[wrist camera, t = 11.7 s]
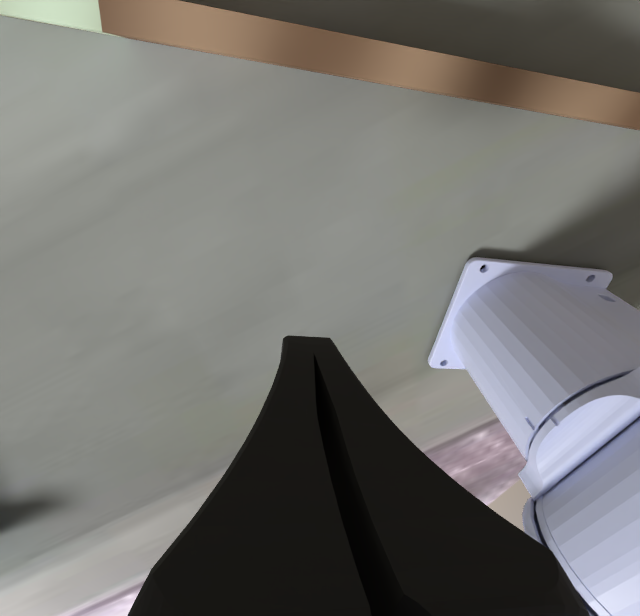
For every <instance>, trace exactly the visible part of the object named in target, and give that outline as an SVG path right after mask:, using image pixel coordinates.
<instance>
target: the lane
mask: <svg viewBox="0 0 640 616" xmlns="http://www.w3.org/2000/svg"><path fill="white" fill-rule="evenodd" d="M0 15H1V16H7V17H12V18H18V19H24V20H29V21H35V22H40V23H46V24H51V25H57V26H62V27H68V28H74V29H79V30H85V31H90V32H96V33H101V34H107V35H112V36H118V37H124V38H129V39H135V40H140V41H146V42H151V43H157V44H163V45H168V46H174V47H179V48H185V49H190V50H196V51H201V52H207V53H213V54H218V55H224V56H229V57H235V58H240V59H246V60H251V61H257V62H263V63H268V64H274V65H279V66H285V67H290V68H296V69H301V70H307V71H313V72H318V73H324V74H329V75H335V76H340V77H346V78H352V79H357V80H363V81H368V82H374V83H379V84H385V85H390V86H396V87H402V88H407V89H413V90H418V91H424V92H429V93H435V94H440V95H446V96H452V97H457V98H463V99H468V100H474V101H479V102H485V103H490V104H496V105H502V106H507V107H513V108H518V109H524V110H529V111H535V112H541V113H546V114H552V115H557V116H563V117H568V118H574V119H579V120H585V121H591V122H596V123H602V124H607V125H613V126H618V127H624V128H629V129H635V130H640V93H637V92H632V91H627V90H622V89H617V88H612V87H607V86H602V85H597V84H592V83H587V82H583V81H578V80H573V79H568V78H563V77H558V76H553V75H548V74H543V73H538V72H533V71H528V70H523V69H518V68H513V67H508V66H503V65H498V64H493V63H488V62H483V61H478V60H473V59H468V58H463V57H458V56H453V55H448V54H443V53H438V52H433V51H428V50H423V49H418V48H413V47H408V46H403V45H398V44H393V43H388V42H383V41H378V40H373V39H368V38H363V37H358V36H353V35H348V34H343V33H338V32H334V31H329V30H324V29H319V28H314V27H309V26H304V25H299V24H294V23H289V22H284V21H279V20H274V19H269V18H264V17H259V16H254V15H249V14H244V13H239V12H234V11H229V10H224V9H219V8H214V7H209V6H204V5H199V4H194V3H189V2H184V1H179V0H0Z"/></svg>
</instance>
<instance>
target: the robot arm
mask: <svg viewBox="0 0 640 616" xmlns="http://www.w3.org/2000/svg"><path fill="white" fill-rule="evenodd" d="M485 264H486V265H485ZM483 265H485V267H484V268H483V269H481V270H480V268H481V266H483ZM588 276H589V277H588ZM612 278H613V275H612V273H610V272H609V271H607V270H601V269H591V268H581V267H571V266H561V265H550V264H540V263H530V262H520V261H510V260H500V259H490V258H480V257H473V258H471V259H469V260H468V261H467V263H466V264H465V267H464V269H463V272H462V274H461V277H460V280H459V282H458V285H457V287H456V290H455V292H454V295H453V297H452V300H451V302H450V305H449V307H448V310H447V312H446V315H445V318H444V320H443V323H442V325H441V328H440V330H439V333H438V335H437V338H436V340H435V343H434V345H433V348H432V350H431V353H430V356H429V358H428V363H429V365H430V366H431V367H432V368H448V369H467V371H468V373H469V374H470V376H471V377H472V379H473V380H474V382H475V383H476V385H477V386H478V388H479V389H480V391H481V392H482V394H483V396H484V397H485V399H486V400H487V402H488V403H489V405H490V406H491V408H492V409H493V411H494V412H495V414H496V415H497V417H498V418H499V420H500V422H501V423H502V425H503V426H504V428H505V429H506V431H507V432H508V434H509V435H510V437H511V438H512V440H513V441H514V443H515V444H516V446H517V448H518V449H519V451H520V452H521V454H522V455H523V457H524V458H525V460H526V461H527V464H526V465H525V467H524V468H523V469H522V470H521V471H520V472H519V474H518V475H519V477H520V478H521V480H522V482H523V483H524V485H525V487H526V488H527V490H528V492H529V493H530V495H531V496H532V497H530V498H529V499H528V500H527V502H526V503H525V505H524V508H523V513H522V516H523V526H524V530H525V532H523V531H522V530H520V529H519V528H517V527H516V526H514V525H513V524H511V523H510V522H508V521H507V520H506V519H504V518H503V517H501V516H500V515H498V514H497V513H496V512H494V511H493V510H492V509H490V508H489V507H488V506H486V505H485V504H484V503H483V502H481V501H480V500H479V499H477V498H476V497H475V496H473V495H472V494H471V493H469V492H468V491H467V490H466V489H464V488H463V487H462V486H461V485H459V484H458V483H457V482H456V481H455V480H453V479H452V478H451V477H450V476H449V475H448V474H446V473H445V472H444V471H443V470H442V469H441V468H440V467H438V466H437V465H436V464H435V463H434V462H433V461H431V460H430V459H429V458H428V457H427V456H426V455H425V454H424V453H423V452H422V451H421V450H419V449H418V448H417V447H416V446H415V445H414V444H413V443H412V442H411V441H410V440H409V439H408V438H407V437H406V436H405V435H404V434H403V433H402V432H401V431H400V430H399V428H398V427H397V426H396V425H395V424H394V423H393V422H392V421H391V420H390V418H389V417H388V416H387V415H386V414H385V413H384V411H383V410H382V409H381V408H380V407H379V406H378V404H377V403H376V402H375V401H374V399H373V398H372V397H371V396H370V394H369V393H368V392H367V390H366V389H365V388H364V386H363V385H362V384H361V382H360V381H359V380H358V378H357V377H356V376H355V374H354V373H353V371H352V370H351V369H350V367H349V366H348V364H347V363H346V361H345V360H344V358H343V357H342V355H341V354H340V352H339V351H338V349H337V347H336V346H335V344H334V343H333V341H332V340H331V339H330V338H323V337H304V336H286V337H285V338H283V344H282V352H281V361H280V365H279V368H278V371H277V374H276V377H275V379H274V382H273V385H272V388H271V390H270V392H269V395H268V397H267V399H266V401H265V403H264V406H263V408H262V410H261V412H260V414H259V416H258V418H257V420H256V422H255V424H254V426H253V428H252V430H251V431H250V433H249V435H248V437H247V438H246V440H245V442H244V444H243V445H242V447H241V449H240V450H239V452H238V453H237V455H236V457H235V458H234V460H233V462H232V463H231V465H230V466H229V468H228V469H227V471H226V472H225V474H224V475H223V477H222V478H221V480H220V481H219V483H218V484H217V485H216V487H215V488H214V490H213V491H212V492H211V494H210V495H209V497H208V498H207V499H206V501H205V502H204V503H203V505H202V506H201V508H200V509H199V510H198V512H197V513H196V515H195V516H194V517H193V518H192V520H191V521H190V522H189V524H188V525H187V526H186V527H185V529H184V530H183V531H182V532H181V533H180V535H179V536H178V537H177V538H176V540H175V541H174V542H173V543H172V545H171V546H170V547H169V548H168V549H167V551H166V552H165V553H164V554H163V556H162V557H161V558H160V559H159V560H158V562H157V563H156V564H155V565H154V567H153V568H152V569H151V571H150V573H149V575H148V577H147V579H146V581H145V583H144V584H143V586H142V588H141V590H140V592H139V594H138V596H137V598H136V600H135V602H134V604H133V606H132V608H131V610H130V612H129V614H128V616H640V311H639V310H638V309H636V308H635V307H633V306H631V305H630V304H628V303H627V302H625V301H624V300H622V299H621V298H619V297H618V296H616V295H614V294H613V293H611V292H610V291H608V290H607V289H606V288H607V287H608V285H609V283H610V282H611V280H612ZM443 360H444V361H443ZM441 361H443V362H441Z"/></svg>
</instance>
